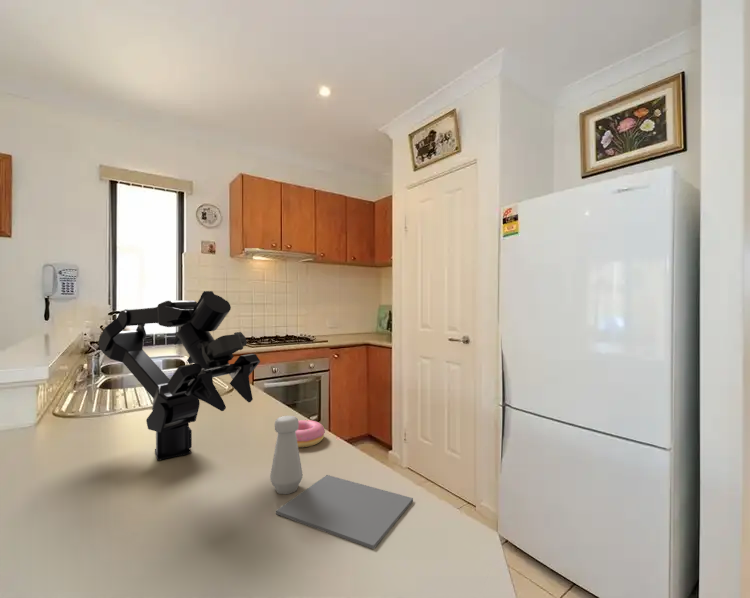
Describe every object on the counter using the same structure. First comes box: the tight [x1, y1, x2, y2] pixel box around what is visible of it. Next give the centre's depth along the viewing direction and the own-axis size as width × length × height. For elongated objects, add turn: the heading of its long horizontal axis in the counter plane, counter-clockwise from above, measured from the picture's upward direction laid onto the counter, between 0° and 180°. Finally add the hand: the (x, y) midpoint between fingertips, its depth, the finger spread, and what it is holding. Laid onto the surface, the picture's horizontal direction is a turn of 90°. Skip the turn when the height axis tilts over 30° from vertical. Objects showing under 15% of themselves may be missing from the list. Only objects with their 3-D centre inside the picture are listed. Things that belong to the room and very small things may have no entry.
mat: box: [275, 474, 414, 550], centre depth 63 cm, size 18×14×1 cm
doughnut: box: [295, 419, 326, 449], centre depth 92 cm, size 11×11×4 cm
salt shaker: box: [269, 415, 303, 495], centre depth 69 cm, size 6×6×13 cm
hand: (238, 405), depth 75 cm, fingers open, 6 cm apart
